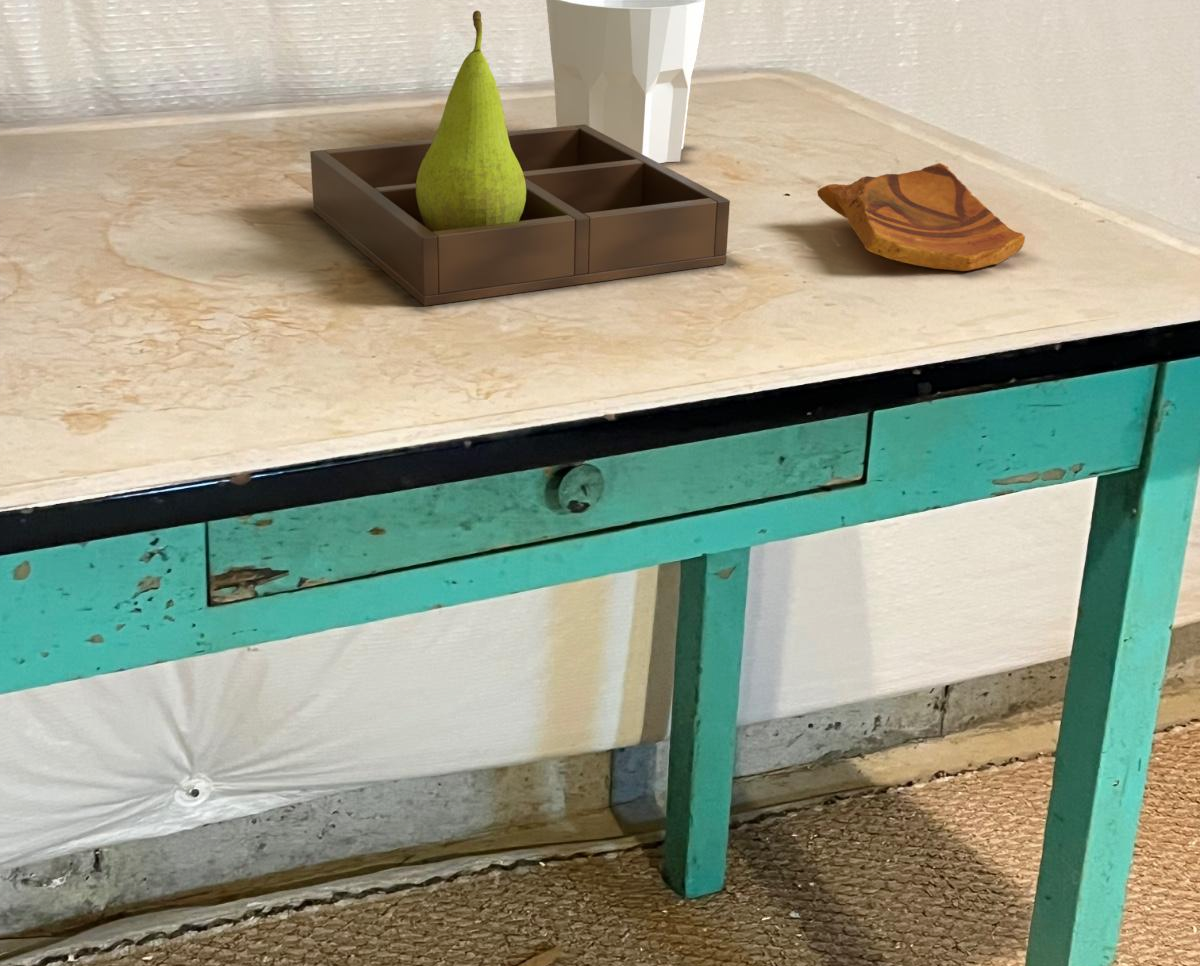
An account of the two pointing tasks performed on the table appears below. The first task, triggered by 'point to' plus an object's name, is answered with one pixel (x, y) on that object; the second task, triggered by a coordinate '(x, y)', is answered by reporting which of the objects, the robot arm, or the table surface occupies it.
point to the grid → (525, 217)
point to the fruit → (471, 155)
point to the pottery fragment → (923, 220)
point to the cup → (626, 69)
